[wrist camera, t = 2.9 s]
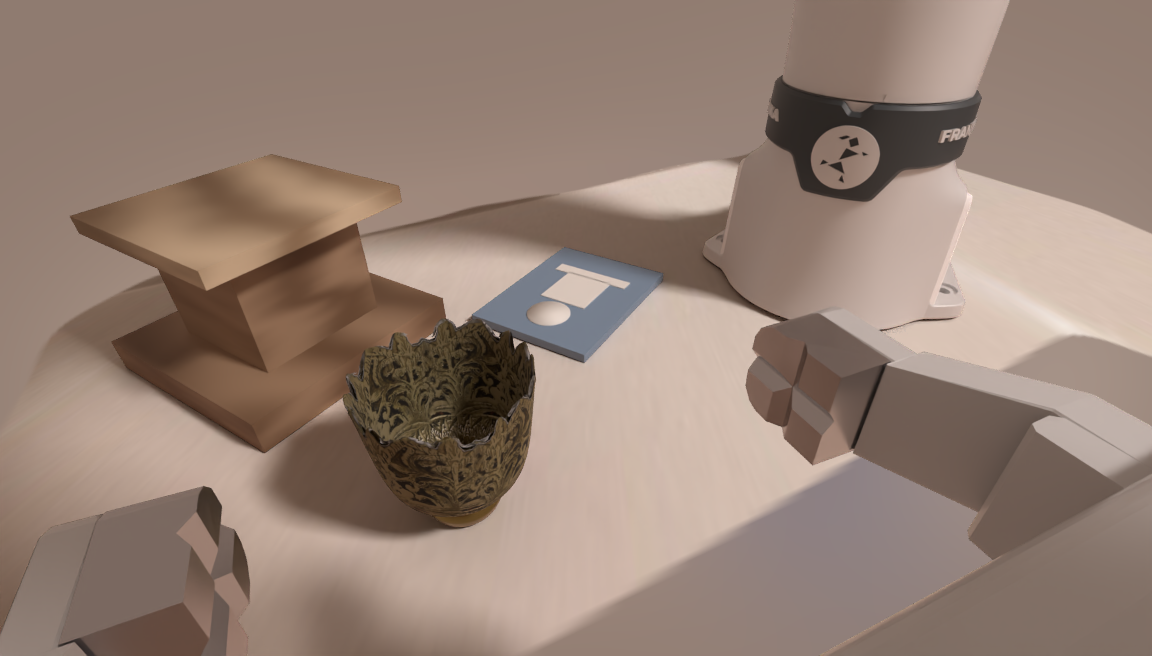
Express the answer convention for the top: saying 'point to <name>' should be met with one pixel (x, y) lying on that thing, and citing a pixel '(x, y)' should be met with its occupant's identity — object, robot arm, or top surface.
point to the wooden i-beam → (260, 290)
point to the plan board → (570, 302)
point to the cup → (446, 417)
